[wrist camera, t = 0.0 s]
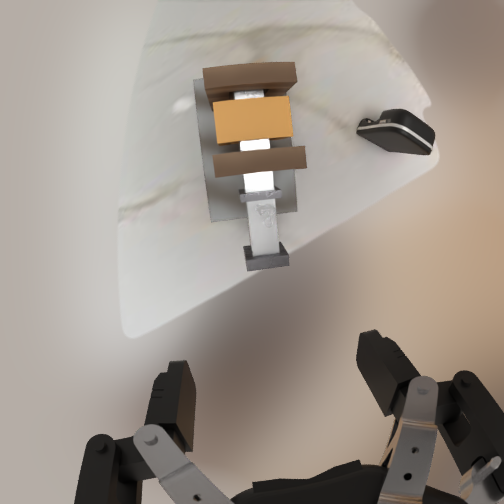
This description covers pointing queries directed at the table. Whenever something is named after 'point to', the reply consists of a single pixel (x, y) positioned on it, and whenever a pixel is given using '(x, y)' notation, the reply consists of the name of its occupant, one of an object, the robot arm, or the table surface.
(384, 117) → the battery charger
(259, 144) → the shaft
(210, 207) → the stand
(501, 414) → the robot arm
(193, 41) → the table surface
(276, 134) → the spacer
